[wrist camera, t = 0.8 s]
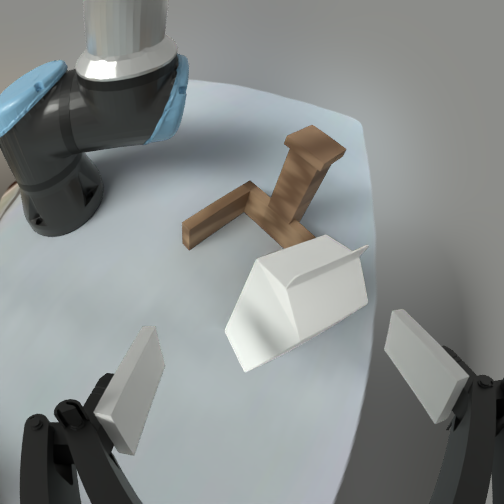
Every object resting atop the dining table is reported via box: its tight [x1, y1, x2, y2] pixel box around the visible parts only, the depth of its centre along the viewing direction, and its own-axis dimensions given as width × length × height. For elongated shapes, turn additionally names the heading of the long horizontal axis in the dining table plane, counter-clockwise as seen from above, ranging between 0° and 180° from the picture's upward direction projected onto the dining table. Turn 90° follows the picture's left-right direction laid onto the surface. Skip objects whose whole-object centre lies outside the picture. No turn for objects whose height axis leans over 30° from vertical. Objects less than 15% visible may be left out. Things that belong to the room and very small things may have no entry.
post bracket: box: [182, 125, 346, 250], centre depth 33 cm, size 14×16×17 cm
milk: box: [225, 235, 369, 372], centre depth 24 cm, size 6×6×22 cm
